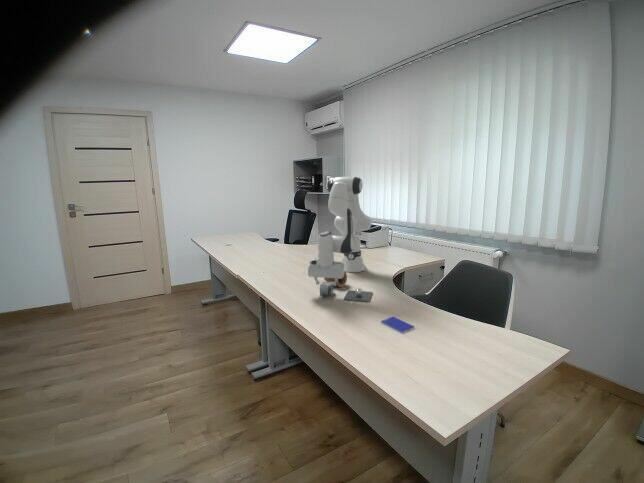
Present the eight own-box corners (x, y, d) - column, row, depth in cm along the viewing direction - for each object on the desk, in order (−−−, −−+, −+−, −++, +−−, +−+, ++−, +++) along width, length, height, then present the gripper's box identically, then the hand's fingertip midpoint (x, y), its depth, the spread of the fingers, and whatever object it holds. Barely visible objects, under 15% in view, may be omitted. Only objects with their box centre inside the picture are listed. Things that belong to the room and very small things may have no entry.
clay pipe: (323, 293, 197) (346, 288, 192) (317, 277, 195) (340, 271, 190) (330, 282, 214) (352, 277, 210) (325, 267, 213) (347, 262, 208)
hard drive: (380, 320, 149) (401, 331, 139) (393, 316, 153) (414, 326, 143) (380, 324, 149) (401, 334, 139) (393, 319, 153) (414, 329, 143)
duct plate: (348, 291, 189) (348, 284, 189) (372, 293, 186) (372, 286, 185) (343, 300, 176) (343, 293, 175) (369, 302, 173) (369, 295, 172)
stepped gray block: (323, 291, 189) (322, 281, 188) (333, 292, 188) (333, 282, 187) (318, 298, 180) (318, 287, 179) (329, 298, 178) (329, 288, 177)
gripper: (345, 260, 180) (345, 284, 183) (310, 258, 186) (310, 282, 188) (343, 263, 174) (343, 288, 177) (306, 261, 180) (307, 285, 182)
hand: (326, 284), depth 183 cm, fingers open, 8 cm apart
